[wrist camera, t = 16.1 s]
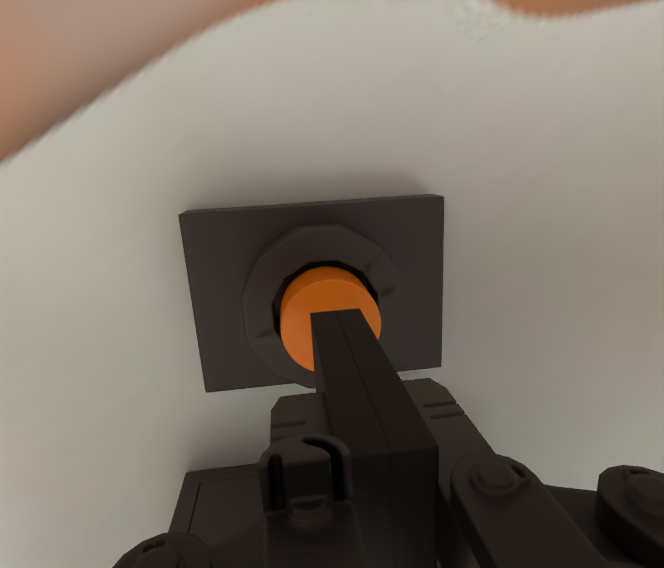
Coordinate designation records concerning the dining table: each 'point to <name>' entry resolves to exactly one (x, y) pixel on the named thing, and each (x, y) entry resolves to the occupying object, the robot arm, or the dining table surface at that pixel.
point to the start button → (320, 307)
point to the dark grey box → (219, 503)
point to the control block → (299, 256)
